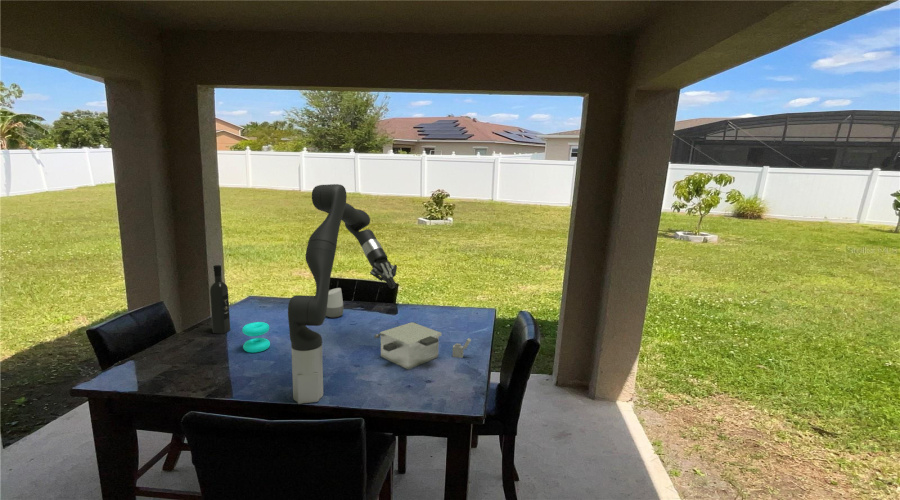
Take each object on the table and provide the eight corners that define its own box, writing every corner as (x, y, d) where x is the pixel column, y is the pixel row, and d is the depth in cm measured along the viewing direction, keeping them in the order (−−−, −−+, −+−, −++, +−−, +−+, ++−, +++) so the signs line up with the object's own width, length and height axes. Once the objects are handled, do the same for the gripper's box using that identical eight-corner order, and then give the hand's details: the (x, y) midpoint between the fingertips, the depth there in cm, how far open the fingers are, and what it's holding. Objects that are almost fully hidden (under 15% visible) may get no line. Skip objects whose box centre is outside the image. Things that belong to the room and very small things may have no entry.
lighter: (452, 356, 174) (452, 337, 172) (453, 355, 175) (453, 336, 174) (469, 358, 172) (470, 339, 171) (470, 357, 174) (471, 338, 172)
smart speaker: (324, 313, 222) (323, 287, 220) (342, 312, 225) (342, 286, 222) (324, 319, 213) (324, 292, 211) (344, 318, 216) (343, 291, 213)
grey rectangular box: (371, 359, 169) (371, 335, 168) (416, 342, 187) (416, 321, 185) (399, 372, 158) (400, 347, 157) (445, 354, 176) (445, 331, 174)
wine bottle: (231, 329, 196) (227, 264, 191) (223, 334, 191) (219, 267, 186) (219, 329, 197) (215, 264, 192) (211, 333, 191) (206, 266, 186)
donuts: (268, 328, 172) (240, 330, 168) (270, 352, 174) (242, 355, 170) (269, 320, 181) (243, 322, 178) (270, 342, 183) (244, 345, 179)
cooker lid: (379, 335, 170) (379, 332, 170) (411, 324, 182) (412, 322, 182) (415, 350, 156) (415, 347, 156) (447, 338, 169) (448, 335, 169)
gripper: (365, 248, 172) (384, 284, 166) (391, 245, 182) (410, 279, 176) (357, 260, 177) (376, 295, 171) (383, 256, 186) (401, 289, 180)
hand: (393, 287), depth 173 cm, fingers closed
